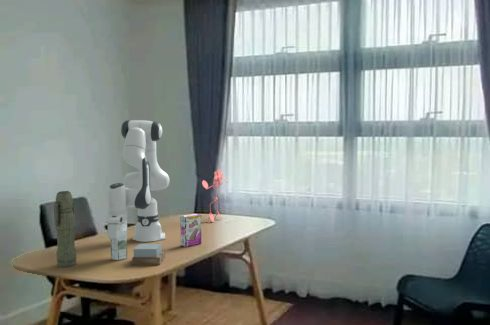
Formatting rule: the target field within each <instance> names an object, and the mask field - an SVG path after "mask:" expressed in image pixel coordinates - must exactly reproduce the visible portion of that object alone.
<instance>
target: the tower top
mask: <svg viewBox="0 0 490 325" xmlns="http://www.w3.org/2000/svg"><path fill="white" fill-rule="evenodd" d="M162 246H163V245H162V243H139V244H138V245H136V246H135V247H134V248H133V257H158V256H159V254H160V253H161V252H162V251H163V250H162V248H163V247H162Z"/></svg>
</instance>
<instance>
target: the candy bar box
mask: <svg viewBox="0 0 490 325" xmlns="http://www.w3.org/2000/svg"><path fill="white" fill-rule="evenodd" d="M179 220H180V222H179V224H180V226H179V227H180V246H181V247H185V248H188V247H193V246H197V245H201V244H202V214H199V213H192V214H185V215H180V219H179Z"/></svg>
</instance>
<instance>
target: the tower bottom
mask: <svg viewBox="0 0 490 325" xmlns="http://www.w3.org/2000/svg"><path fill="white" fill-rule="evenodd" d="M165 259H166V251H165V250H162V252H161V253H160V254H159V256H158V257H134V256H132V257H131V264H132V266H160V265H161V264H162V262H164V260H165Z"/></svg>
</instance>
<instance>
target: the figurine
mask: <svg viewBox="0 0 490 325" xmlns="http://www.w3.org/2000/svg"><path fill="white" fill-rule="evenodd" d="M223 174H224V172H222V171H221V169H220V168H219V169H217V170H216V171H214V173H213V175H214V177H213V182H212V185H211V186H209V184H208V182H207V181H206V180H205V179H203V180H202V181H201V183H202V186H203V188H205V190H208V189H210V188H213V190H214V191H215V192H217V188H220V186H221V185H222V184H223V181H222V180H224V181H225V182H226V183H229V181H228V180H227V179H226V178H225V177H224V176H223ZM218 201H219V199H218V196H217V193H215V197H214V198H213V201H212V202H211V203H210V204H209V205H211V204H213V203H214V202H216V206H217V207H216V208H217V210H216V215H215V217H214V215H213V213H212V210H211V209H212V208H211V206H209V211H210V212H209V214H208V219H207V221H206V222H209V220H210V222H212V223H215V220H216V218H217V216H219V217H220V219H221V220H223V217H222V216H221V214H220V213H219V205H218ZM228 223H229V221H228V222H227V221H226V224H228Z"/></svg>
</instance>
